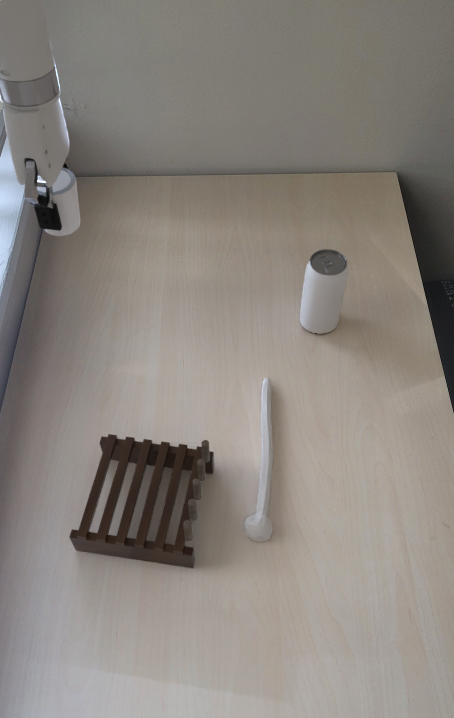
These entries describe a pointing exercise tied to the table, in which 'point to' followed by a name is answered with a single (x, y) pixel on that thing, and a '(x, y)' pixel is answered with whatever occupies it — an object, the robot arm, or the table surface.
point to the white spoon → (263, 473)
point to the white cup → (64, 202)
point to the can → (323, 291)
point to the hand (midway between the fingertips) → (58, 210)
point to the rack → (159, 457)
